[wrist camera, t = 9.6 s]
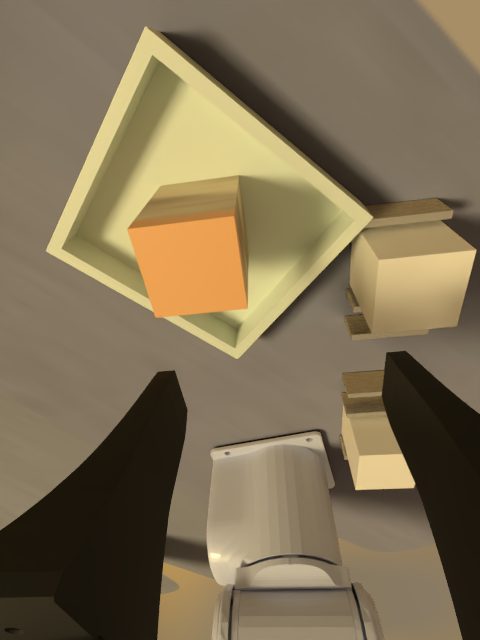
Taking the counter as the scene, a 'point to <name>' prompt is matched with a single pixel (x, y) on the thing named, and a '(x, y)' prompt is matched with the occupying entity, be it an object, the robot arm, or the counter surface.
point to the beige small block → (374, 454)
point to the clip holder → (368, 385)
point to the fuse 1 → (410, 275)
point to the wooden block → (193, 247)
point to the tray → (200, 164)
